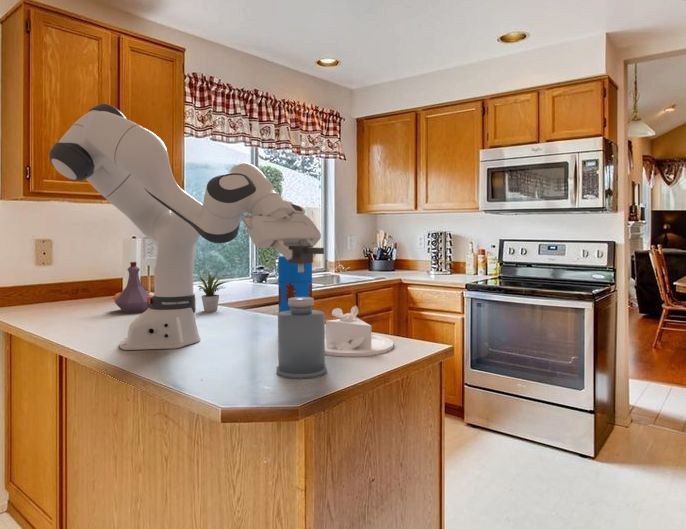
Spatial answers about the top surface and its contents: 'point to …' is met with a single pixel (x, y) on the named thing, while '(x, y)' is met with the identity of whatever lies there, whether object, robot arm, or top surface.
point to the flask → (133, 293)
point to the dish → (353, 336)
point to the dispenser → (301, 340)
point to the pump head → (304, 255)
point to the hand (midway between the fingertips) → (302, 257)
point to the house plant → (210, 293)
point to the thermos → (293, 282)
